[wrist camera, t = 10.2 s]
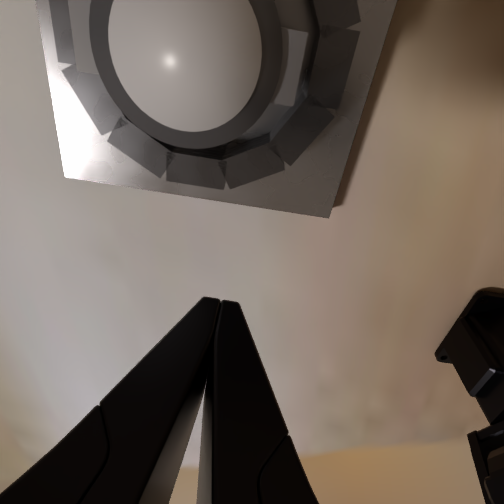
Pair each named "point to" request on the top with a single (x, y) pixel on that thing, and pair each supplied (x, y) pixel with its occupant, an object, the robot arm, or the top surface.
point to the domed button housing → (189, 63)
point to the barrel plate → (249, 143)
